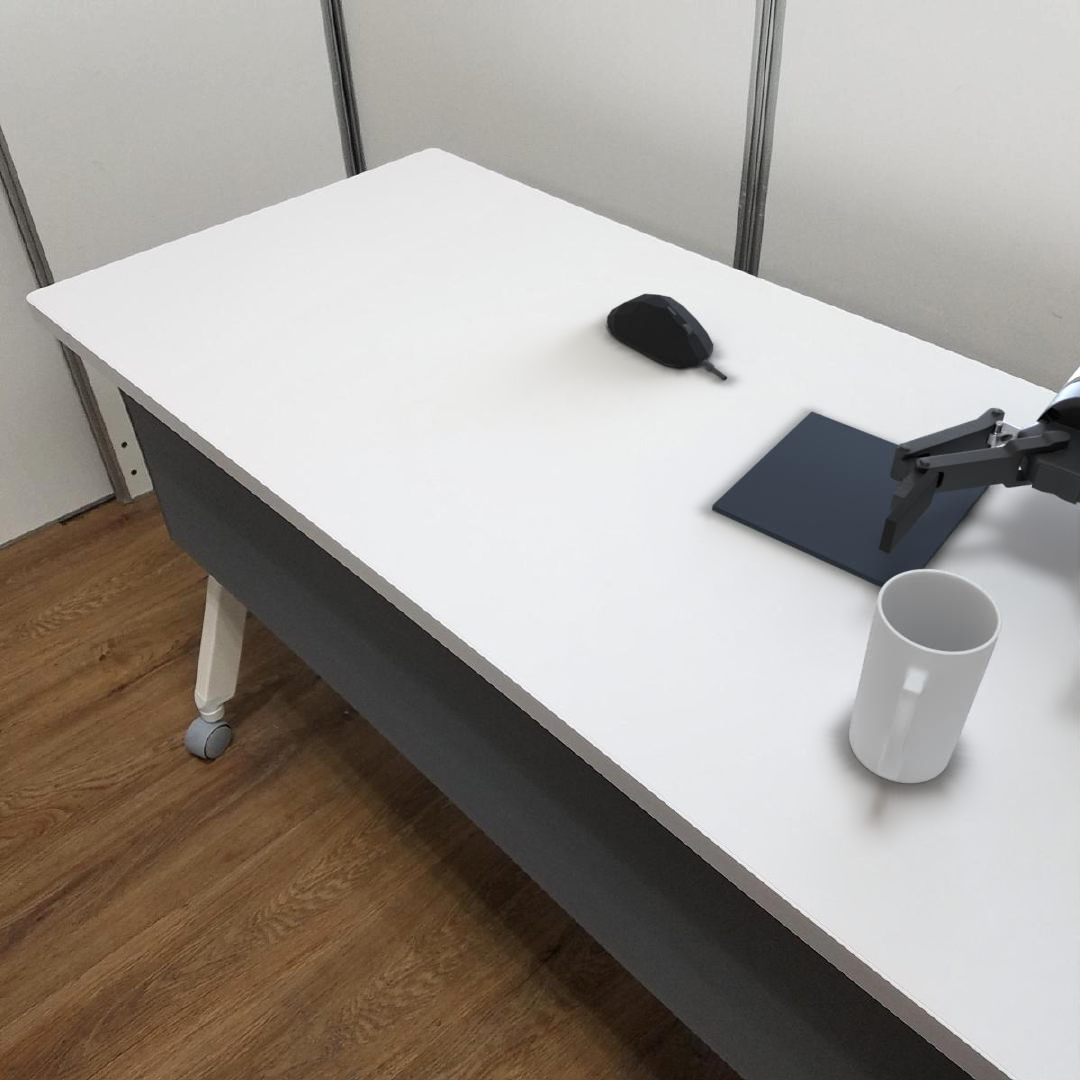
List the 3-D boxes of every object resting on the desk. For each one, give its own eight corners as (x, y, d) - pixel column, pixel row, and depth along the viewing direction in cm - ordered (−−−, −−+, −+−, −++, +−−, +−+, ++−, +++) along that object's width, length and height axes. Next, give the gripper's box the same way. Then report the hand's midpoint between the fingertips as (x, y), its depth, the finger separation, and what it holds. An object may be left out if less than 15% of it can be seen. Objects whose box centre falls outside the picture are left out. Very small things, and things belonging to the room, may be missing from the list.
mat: (989, 485, 91) (991, 480, 90) (901, 596, 81) (902, 591, 81) (810, 415, 98) (811, 410, 98) (711, 510, 89) (712, 505, 89)
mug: (861, 689, 75) (895, 555, 67) (964, 725, 73) (1012, 590, 65) (814, 802, 68) (846, 669, 60) (927, 846, 66) (975, 713, 58)
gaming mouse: (700, 392, 101) (703, 354, 99) (593, 326, 110) (594, 289, 107) (750, 368, 104) (754, 330, 101) (642, 305, 113) (643, 268, 110)
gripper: (1266, 527, 80) (1174, 713, 68) (932, 404, 92) (803, 543, 80) (1312, 442, 75) (1222, 626, 63) (952, 323, 87) (818, 459, 75)
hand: (987, 580), depth 71 cm, fingers open, 13 cm apart
